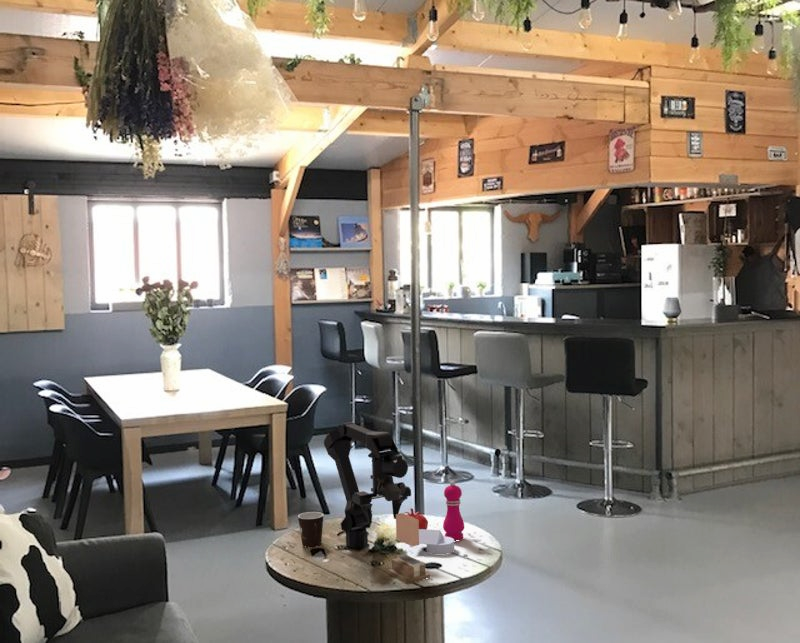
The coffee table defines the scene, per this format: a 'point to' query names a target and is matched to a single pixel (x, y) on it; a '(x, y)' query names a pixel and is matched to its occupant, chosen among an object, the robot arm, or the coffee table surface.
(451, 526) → the pepper mill
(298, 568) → the coffee table surface
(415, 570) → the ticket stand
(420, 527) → the pomegranate
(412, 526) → the peach rectangular panel
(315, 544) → the coffee mug
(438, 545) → the wedge on round base
